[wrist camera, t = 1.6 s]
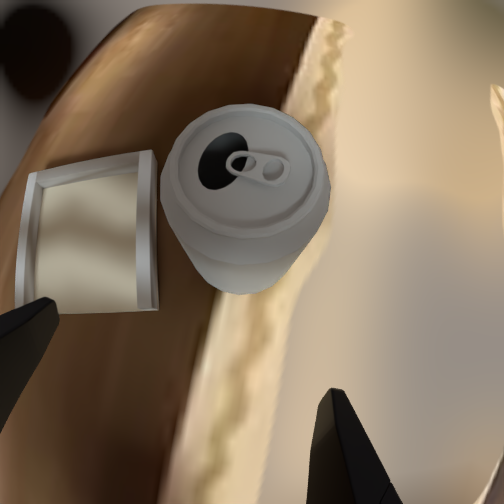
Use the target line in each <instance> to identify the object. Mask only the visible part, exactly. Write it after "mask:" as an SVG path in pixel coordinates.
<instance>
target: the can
mask: <svg viewBox="0 0 504 504" xmlns="http://www.w3.org/2000/svg"><path fill="white" fill-rule="evenodd" d="M330 190H331V185H330V181H329V176H328V172H327V167H326V164H325V162H324V160H323V157H322V153H321V149H320V147H319V146H318V144H317V143H316V141H315V139H314V138H313V136H312V135H311V133H310V132H309V131H308V130H307V129H306V128H305V127H304V126H303V125H301V124H300V123H299V122H298V121H297V120H296V119H294V118H293V117H291V116H289V115H287V114H285V113H283V112H281V111H279V110H276V109H274V108H271V107H266V106H261V105H255V104H237V105H227V106H224V107H221V108H218V109H215V110H211V111H208V112H207V113H205V114H203V115H202V116H200V117H199V118H197V119H196V120H194V121H193V122H191V123H190V124H189V125H188V126H187V127H186V128H185V129H184V131H183V132H182V133H181V134H180V135H179V136H178V138H177V139H176V140H175V143H174V145H173V148H172V150H171V152H170V153H169V155H168V158H167V160H166V163H165V166H164V168H163V171H162V174H161V183H160V200H161V203H162V206H163V209H164V212H165V214H166V217H167V220H168V223H169V225H170V226H171V228H172V230H173V231H174V233H175V235H176V237H177V238H178V240H179V242H180V243H181V245H182V247H183V248H184V250H185V252H186V253H187V255H188V256H189V258H190V260H191V261H192V263H193V265H194V266H195V268H196V270H197V271H198V272H199V273H200V274H201V275H202V277H203V278H204V279H205V280H206V281H207V282H208V283H209V284H211V285H213V286H214V287H216V288H218V289H219V290H221V291H224V292H228V293H233V294H237V295H243V294H254V293H258V292H260V291H262V290H265V289H267V288H269V287H272V286H273V285H274V284H275V283H276V282H277V281H278V280H279V279H280V278H282V277H283V276H284V275H285V273H286V272H287V271H288V269H289V268H290V267H291V265H292V264H293V263H294V262H295V260H296V259H297V258H298V256H299V255H300V254H301V252H302V251H303V250H304V248H305V247H306V246H307V244H308V243H309V242H310V240H311V239H312V238H313V236H314V235H315V234H316V232H317V230H318V228H319V227H320V225H321V223H322V221H323V219H324V217H325V215H326V213H327V211H328V206H329V198H330Z"/></svg>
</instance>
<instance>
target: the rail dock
mask: <svg viewBox="0 0 504 504" xmlns="http://www.w3.org/2000/svg"><path fill="white" fill-rule="evenodd" d="M157 165H158V163H157V160H156V158H155V156H154V153H153V151H152V150H145V151H138V152H132V153H126V154H120V155H114V156H108V157H103V158H97V159H92V160H87V161H82V162H77V163H73V164H68V165H63V166H59V167H55V168H50V169H46V170H42V171H38V172H34V173H30V174H29V177H28V182H27V187H26V192H25V198H24V204H23V210H22V216H21V223H20V231H19V240H18V250H17V262H16V279H15V309H16V308H18V307H20V306H23V305H25V304H28V303H30V302H32V301H35V300H37V299H39V298H42V297H49V298H51V299H53V300H55V302H56V305H57V309H58V313H59V314H80V313H110V312H132V311H151V310H159V297H158V275H157V234H156V206H157Z"/></svg>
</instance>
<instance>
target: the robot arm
mask: <svg viewBox="0 0 504 504" xmlns="http://www.w3.org/2000/svg"><path fill="white" fill-rule="evenodd" d="M59 320H60V318H59V313H58V309H57V305H56V302H55V300H53V299H51V298H49V297H42V298H39V299H37V300H35V301H32V302H30V303H28V304H25V305H23V306H20V307H18V308H16V309H13V310H11V311H9V312H7V313H4V314H2V315H0V433H1V431H2V429H3V427H4V425H5V423H6V421H7V419H8V417H9V415H10V413H11V411H12V409H13V408H14V406H15V404H16V402H17V400H18V398H19V397H20V395H21V393H22V391H23V389H24V388H25V386H26V384H27V382H28V381H29V379H30V377H31V376H32V374H33V372H34V370H35V369H36V367H37V366H38V364H39V362H40V360H41V359H42V357H43V355H44V353H45V351H46V348H47V346H48V344H49V342H50V340H51V338H52V336H53V334H54V332H55V330H56V328H57V326H58V324H59ZM308 477H309V478H308V489H307V500H306V504H403V503H402V501H401V499H400V498H399V496H398V494H397V492H396V490H395V488H394V486H393V484H392V483H391V482H390V479H389V477H388V475H387V473H386V471H385V469H384V467H383V465H382V463H381V461H380V459H379V457H378V455H377V453H376V451H375V449H374V447H373V445H372V443H371V442H370V440H369V438H368V436H367V434H366V432H365V430H364V428H363V426H362V424H361V422H360V420H359V418H358V417H357V415H356V413H355V411H354V409H353V407H352V405H351V403H350V401H349V399H348V398H347V396H346V394H345V392H344V391H343V390H342V389H336V388H330V389H329V390H328V391H327V393H326V394H325V396H324V397H323V398H322V400H321V401H320V403H319V405H318V410H317V416H316V422H315V428H314V433H313V439H312V444H311V450H310V462H309V476H308Z"/></svg>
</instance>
